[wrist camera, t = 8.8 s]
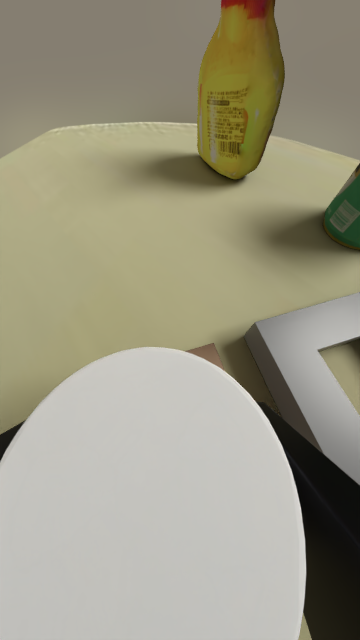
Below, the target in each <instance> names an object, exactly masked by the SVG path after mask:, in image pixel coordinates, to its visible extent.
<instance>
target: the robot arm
mask: <svg viewBox="0 0 360 640" xmlns="http://www.w3.org/2000/svg"><path fill="white" fill-rule="evenodd" d="M256 403H257V404H258V405H259V407H260V408H261V410H262V411H263V413H264V414H265V416H266V417H267V419H268V420H269V422H270V424H271V425H272V427H273V429H274V431H275V433H276V435H277V437H278V439H279V441H280V443H281V445H282V447H283V450H284V452H285V455H286V457H287V460H288V463H289V465H290V468H291V470H292V474H293V478H294V481H295V485H296V488H297V493H298V497H299V502H300V507H301V513H302V521H303V529H304V537H305V553H306V583H305V598H304V608H303V613H304V616H305V619H306V622H307V625H308V628H309V632H310V635H311V638H312V640H360V485H359V484H358V483H357V482H356V481H354V480H353V479H352V478H351V477H350V476H349V475H348V474H346V473H345V472H344V471H343V470H342V469H341V468H339V467H338V466H337V465H336V464H335V463H334V462H332V461H331V460H330V459H329V458H328V457H327V456H325V455H324V454H323V453H322V452H321V451H320V450H319V449H317V448H316V447H315V446H314V445H313V444H312V443H310V442H309V441H308V440H307V439H306V438H305V437H303V436H302V435H301V434H300V433H299V432H298V431H297V430H295V429H294V428H293V427H292V426H291V425H290V424H288V423H287V422H286V421H285V420H284V419H283V418H281V417H280V416H279V415H278V414H277V413H276V412H275V411H273V410H272V409H271V408H270V407H269V406H268V405H266V404H265V403H264V402H256ZM25 421H26V420H25ZM25 421H23V422H22V423H20V424H18V425H16V426H15V427H13V428H11V429H9V430H8V431H6V432H4V433H2V434H1V435H0V461H1V459H2V457H3V455H4V453H5V451H6V450H7V448H8V446H9V445H10V443H11V441H12V440H13V438H14V437H15V435H16V433H17V432H18V431H19V429H20V428H21V426H22V425H23V424H24V422H25Z"/></svg>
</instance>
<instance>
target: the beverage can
mask: <svg viewBox="0 0 360 640" xmlns="http://www.w3.org/2000/svg"><path fill="white" fill-rule="evenodd" d="M323 226H324V229H325V231H326V233H327V234H328V235H329V236H330V237H331V238H332V239H333V240H335V241H336V242H338V243H340V244H342V245H344V246H346V247H349V248H352V249H357V250H360V164H359V165H358V166H357V168H356V169H355V171H354V172H353V173H352V175H351V176H350V177H349V179H348V180H347V182H346V183H345V184H344V186H343V187H342V188H341V190H340V191H339V193H338V194H337V195H336V197H335V198H334V200H333V201H332V202H331V204H330V205H329V206H328V208H327V209H326V212H325V219H324V221H323Z"/></svg>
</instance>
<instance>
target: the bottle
mask: <svg viewBox="0 0 360 640" xmlns="http://www.w3.org/2000/svg"><path fill="white" fill-rule="evenodd" d="M274 6H275V0H222V1H221V17H220V21H219V25H218V27H217V29H216V31H215V33H214V35H213V37H212V39H211V41H210V43H209V45H208V47H207V50H206V52H205V54H204V57H203V60H202V63H201V67H200V73H199V82H198V118H197V128H198V143H197V146H198V152H199V155H200V156H201V157H202V159H203V160H204V161H206V162H207V163H208V165H210V166H211V167H212V168H213V169H214V170H216V171H217V172H218V173H220V174H222V175H225V176H227V177H229V178H231V179H240V178H242V177H244V176H245V175H247V174H248V173H250V172H252V171H254V170H255V169H256V168H257V166H258V165H259V163H260V161H261V158H262V156H263V153H264V151H265V147H266V144H267V141H268V139H269V136H270V134H271V131H272V128H273V124H274V120H275V116H276V114H277V111H278V107H279V104H280V99H281V94H282V90H283V85H284V78H285V73H284V72H285V71H284V61H283V57H282V54H281V50H280V43H279V35H278V30H277V27H276V23H275V19H274Z"/></svg>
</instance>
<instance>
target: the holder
mask: <svg viewBox="0 0 360 640" xmlns="http://www.w3.org/2000/svg"><path fill="white" fill-rule="evenodd" d="M244 338H245V340H246V343H247V345H248V347H249V349H250V351H251V353H252V355H253V357H254V359H255V361H256V364H257V366H258V368H259V370H260V372H261V374H262V376H263V378H264V380H265V382H266V385H267V387H268V389H269V391H270V393H271V395H272V397H273V399H274V401H275V403H276V406H277V408H278V410H279V412H280V414H281V416H282V418H283V419H284V420H285V421H286V422H287V423H288V424H290V425H291V426H292V427H293V428H294V429H295V430H297V431H298V432H299V433H300V434H301V435H302V436H303V437H305V438H306V439H307V440H308V441H309V442H310V443H312V444H313V445H314V446H315V447H316V448H317V449H319V450H320V451H321V452H322V453H323V454H324V455H325V456H327V457H328V458H329V459H330V460H331V461H332V462H334V463H335V464H336V465H337V466H338V467H339V468H341V469H342V470H343V471H344V472H345V473H346V474H348V475H349V476H350V477H351V478H352V479H353V480H354V481H356V482H357V483H358V484H359V485H360V416H359V414H358V413H357V411H356V410H355V408H354V407H353V405H352V404H351V402H350V400H349V399H348V397H347V396H346V394H345V393H344V391H343V389H342V388H341V386H340V385H339V383H338V382H337V380H336V379H335V377H334V375H333V374H332V372H331V371H330V369H329V368H328V366H327V364H326V363H325V361H324V360H323V358H322V357H321V355H320V354H319V352H320V351H323V350H326V349H329V348H332V347H335V346H339V345H342V344H345V343H348V342H351V341H354V340H357V339H360V292H359V293H355V294H352V295H348V296H345V297H341V298H338V299H334V300H331V301H327V302H324V303H320V304H317V305H313V306H310V307H307V308H303V309H300V310H296V311H293V312H289V313H286V314H282V315H279V316H275V317H272V318H268V319H265V320H261V321H258V322H255V323H254V324H253V325H252V326H251V328H250V329H249V330H248V331H247V332H246V334H245V335H244Z"/></svg>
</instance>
